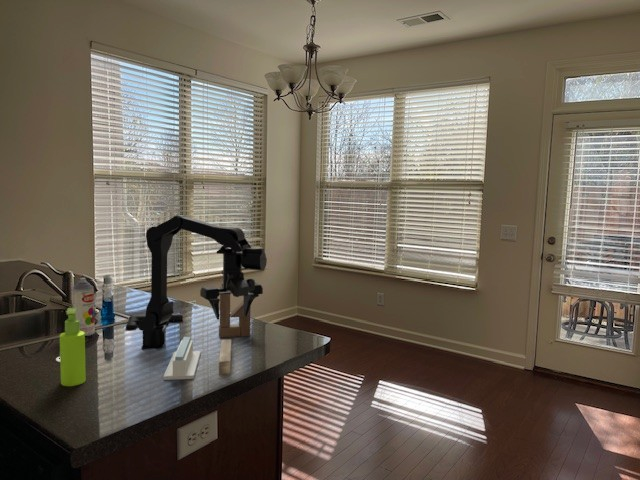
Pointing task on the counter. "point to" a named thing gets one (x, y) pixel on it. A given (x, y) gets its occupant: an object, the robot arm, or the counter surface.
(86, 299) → the aerosol can
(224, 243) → the robot arm
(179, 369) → the ridge stand
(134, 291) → the counter surface
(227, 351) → the birch bar
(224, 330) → the wooden block
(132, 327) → the door handle
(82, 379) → the soap dispenser
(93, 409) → the counter surface
